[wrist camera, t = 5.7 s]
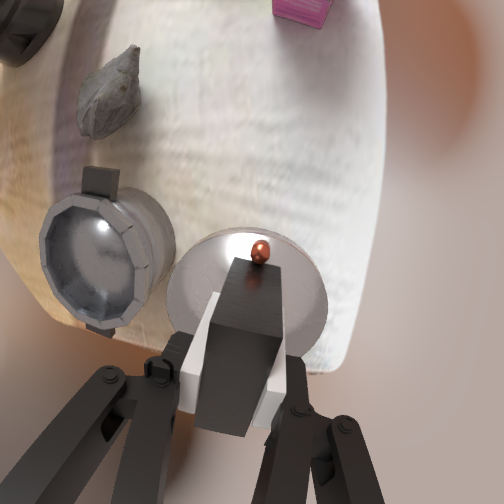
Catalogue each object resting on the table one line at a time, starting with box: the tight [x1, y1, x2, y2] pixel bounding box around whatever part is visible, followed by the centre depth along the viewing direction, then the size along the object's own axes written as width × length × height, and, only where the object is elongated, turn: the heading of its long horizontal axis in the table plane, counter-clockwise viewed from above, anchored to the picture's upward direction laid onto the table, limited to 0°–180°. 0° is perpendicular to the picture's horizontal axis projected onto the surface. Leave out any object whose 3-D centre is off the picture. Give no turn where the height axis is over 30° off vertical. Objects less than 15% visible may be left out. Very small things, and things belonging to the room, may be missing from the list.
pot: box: [39, 166, 175, 338], centre depth 27 cm, size 14×18×9 cm
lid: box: [166, 227, 328, 437], centre depth 14 cm, size 10×10×8 cm
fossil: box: [77, 44, 141, 140], centre depth 22 cm, size 11×9×8 cm
